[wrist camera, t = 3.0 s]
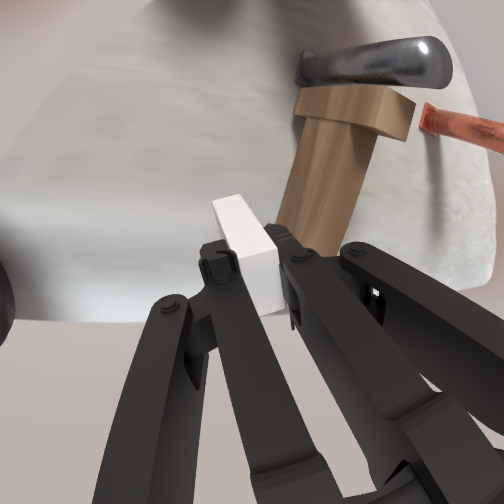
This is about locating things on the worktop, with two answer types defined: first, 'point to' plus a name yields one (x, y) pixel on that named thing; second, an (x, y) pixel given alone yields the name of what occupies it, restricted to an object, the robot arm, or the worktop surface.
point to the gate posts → (402, 81)
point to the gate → (336, 157)
